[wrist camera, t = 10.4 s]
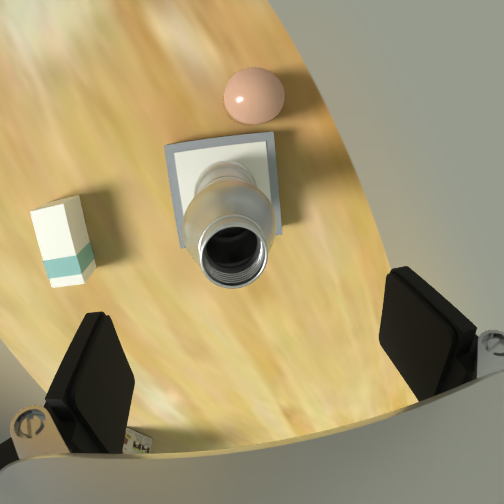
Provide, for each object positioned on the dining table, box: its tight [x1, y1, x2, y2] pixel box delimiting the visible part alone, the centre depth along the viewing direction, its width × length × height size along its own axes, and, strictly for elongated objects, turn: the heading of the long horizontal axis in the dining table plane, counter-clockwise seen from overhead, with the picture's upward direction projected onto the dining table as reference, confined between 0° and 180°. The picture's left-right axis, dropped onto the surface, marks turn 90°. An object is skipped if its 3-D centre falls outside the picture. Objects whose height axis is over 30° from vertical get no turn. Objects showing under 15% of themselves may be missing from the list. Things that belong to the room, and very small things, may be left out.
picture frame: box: [164, 132, 282, 248], centre depth 37 cm, size 12×12×3 cm
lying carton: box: [30, 195, 97, 288], centre depth 36 cm, size 10×5×5 cm, turn 6°
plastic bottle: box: [182, 161, 277, 288], centre depth 26 cm, size 6×7×20 cm
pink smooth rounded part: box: [223, 67, 285, 125], centre depth 32 cm, size 6×6×6 cm
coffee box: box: [122, 427, 152, 454], centre depth 46 cm, size 9×6×16 cm
